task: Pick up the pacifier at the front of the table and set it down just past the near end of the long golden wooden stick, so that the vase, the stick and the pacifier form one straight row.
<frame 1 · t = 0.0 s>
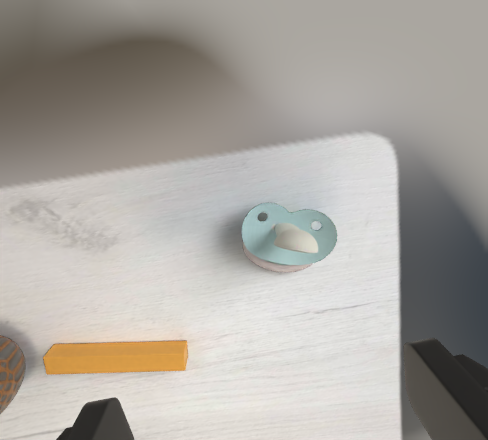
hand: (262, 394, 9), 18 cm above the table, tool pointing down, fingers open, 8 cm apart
pacifier: (281, 235, 27), on the table
vase: (1, 352, 29), on the table
wooden stick: (121, 350, 29), on the table
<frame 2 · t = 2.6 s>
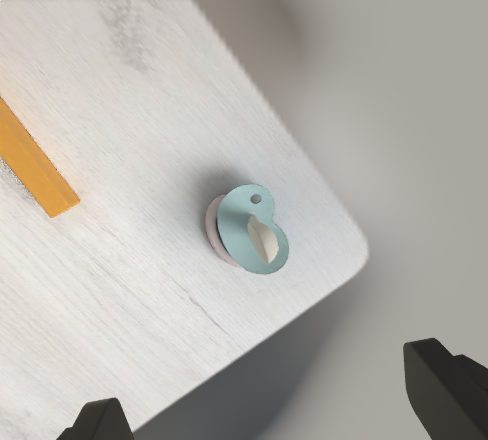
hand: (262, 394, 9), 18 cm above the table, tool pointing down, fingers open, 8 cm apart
pacifier: (243, 225, 26), on the table
wooden stick: (19, 140, 24), on the table
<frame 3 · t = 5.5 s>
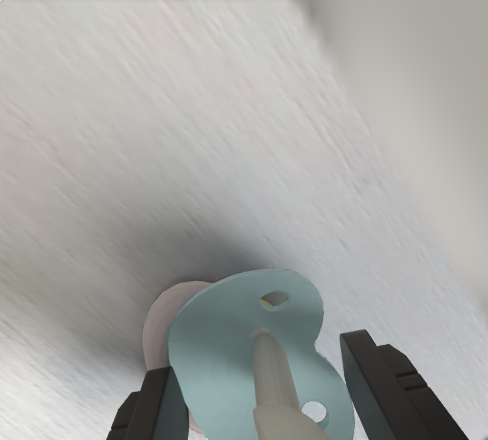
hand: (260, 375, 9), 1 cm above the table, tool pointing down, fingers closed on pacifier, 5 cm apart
pacifier: (238, 344, 11), on the table, touching gripper
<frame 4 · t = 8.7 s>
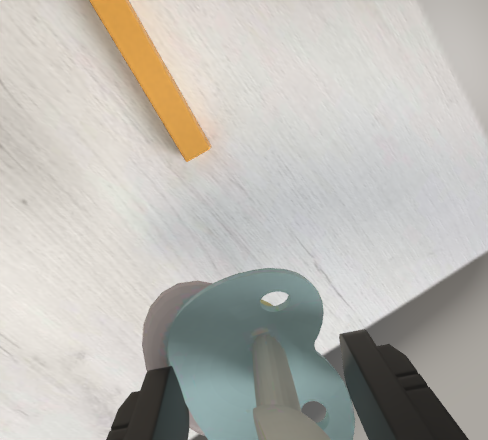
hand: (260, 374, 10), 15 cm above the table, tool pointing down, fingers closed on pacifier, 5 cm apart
pacifier: (238, 344, 11), point 14 cm above the table, touching gripper
wooden stick: (153, 71, 21), on the table
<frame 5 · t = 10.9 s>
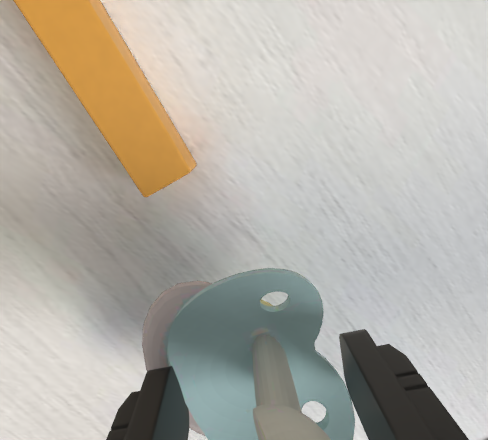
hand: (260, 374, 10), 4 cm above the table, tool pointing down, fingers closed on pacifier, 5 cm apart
pacifier: (238, 344, 11), point 3 cm above the table, touching gripper
wooden stick: (77, 15, 10), on the table
when the fingers open (1 cm above the table, at t = 12.1 s): pacifier stays where it is, on the table.
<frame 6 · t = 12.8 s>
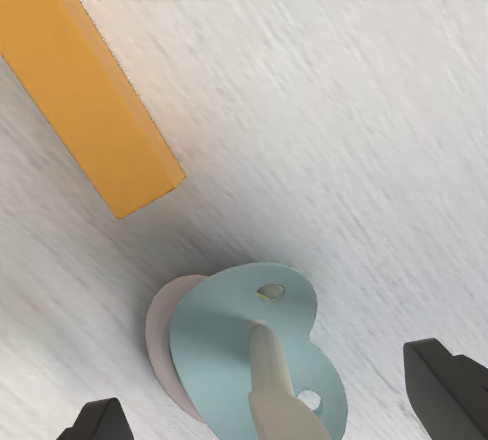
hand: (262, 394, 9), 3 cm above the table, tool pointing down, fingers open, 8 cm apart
pacifier: (237, 336, 12), on the table
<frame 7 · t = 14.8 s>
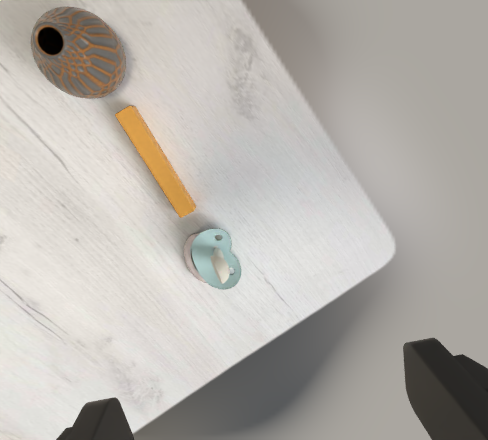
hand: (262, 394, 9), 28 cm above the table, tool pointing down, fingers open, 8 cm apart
pacifier: (211, 254, 37), on the table
vase: (99, 63, 31), on the table
wooden stick: (160, 162, 34), on the table
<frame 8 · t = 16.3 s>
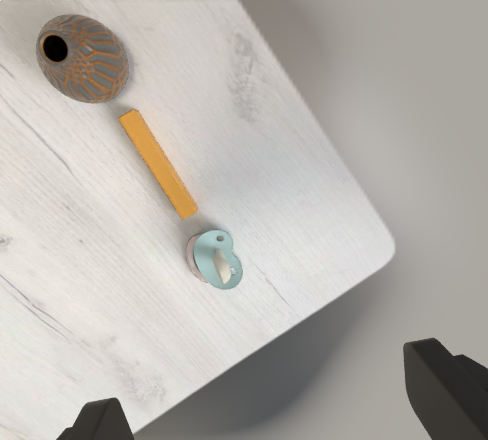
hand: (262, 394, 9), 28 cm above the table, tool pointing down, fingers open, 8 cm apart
pacifier: (212, 254, 38), on the table
vase: (102, 68, 32), on the table
wooden stick: (162, 165, 35), on the table
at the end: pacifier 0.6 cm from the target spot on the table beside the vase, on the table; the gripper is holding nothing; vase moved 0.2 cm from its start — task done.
